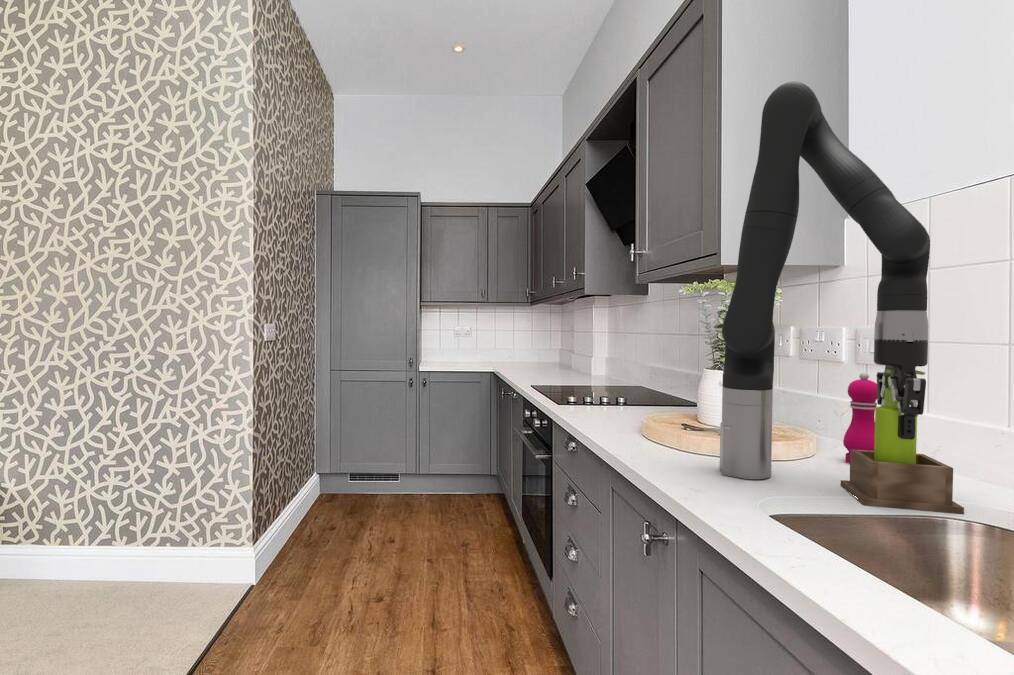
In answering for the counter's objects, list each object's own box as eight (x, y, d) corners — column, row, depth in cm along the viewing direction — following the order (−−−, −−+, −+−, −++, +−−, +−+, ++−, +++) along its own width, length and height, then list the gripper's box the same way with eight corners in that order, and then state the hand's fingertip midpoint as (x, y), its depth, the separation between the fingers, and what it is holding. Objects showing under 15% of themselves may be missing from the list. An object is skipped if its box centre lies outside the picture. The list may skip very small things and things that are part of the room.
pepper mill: (851, 466, 116) (853, 373, 116) (837, 458, 123) (839, 370, 123) (889, 468, 115) (891, 373, 115) (872, 460, 122) (874, 371, 122)
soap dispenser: (929, 491, 91) (932, 370, 90) (883, 487, 92) (886, 369, 92) (911, 481, 96) (913, 368, 96) (867, 478, 98) (870, 367, 97)
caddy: (863, 505, 90) (864, 462, 90) (840, 485, 102) (841, 448, 102) (963, 514, 86) (965, 469, 86) (928, 492, 98) (929, 453, 98)
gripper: (861, 336, 102) (858, 426, 102) (892, 337, 88) (889, 441, 88) (908, 337, 100) (905, 429, 100) (947, 338, 86) (944, 445, 86)
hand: (898, 434), depth 94 cm, fingers open, 6 cm apart
